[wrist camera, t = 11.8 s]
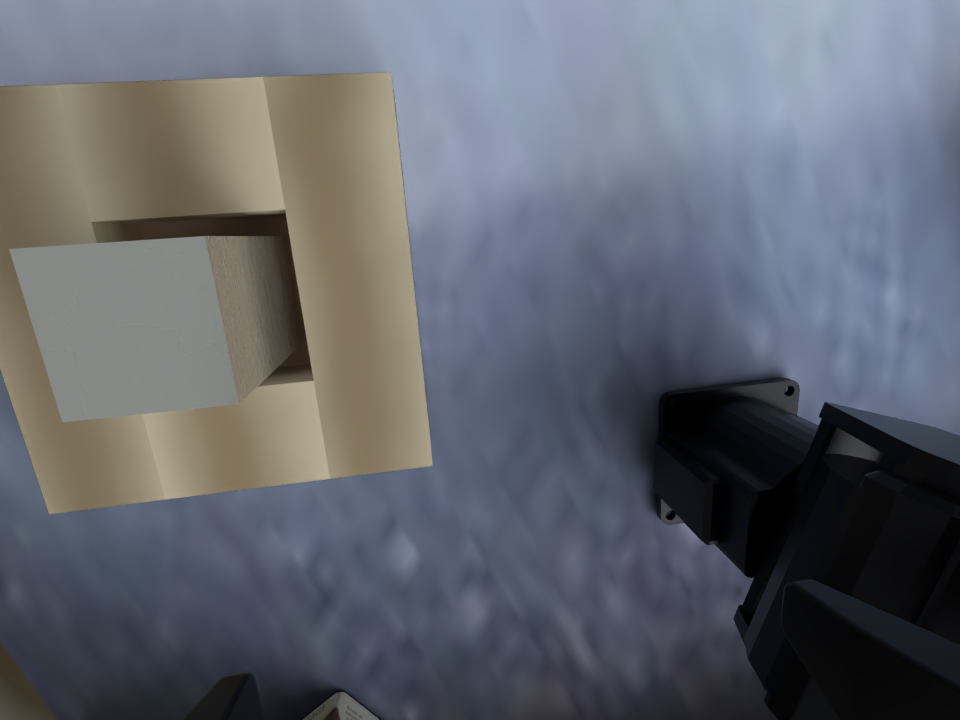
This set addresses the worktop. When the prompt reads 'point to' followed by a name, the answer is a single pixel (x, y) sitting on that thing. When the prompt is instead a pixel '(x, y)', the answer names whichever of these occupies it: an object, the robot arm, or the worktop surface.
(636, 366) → the worktop surface
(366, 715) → the cookie box
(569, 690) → the worktop surface
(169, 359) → the grey rectangular block
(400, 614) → the worktop surface
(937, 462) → the robot arm
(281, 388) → the well block
